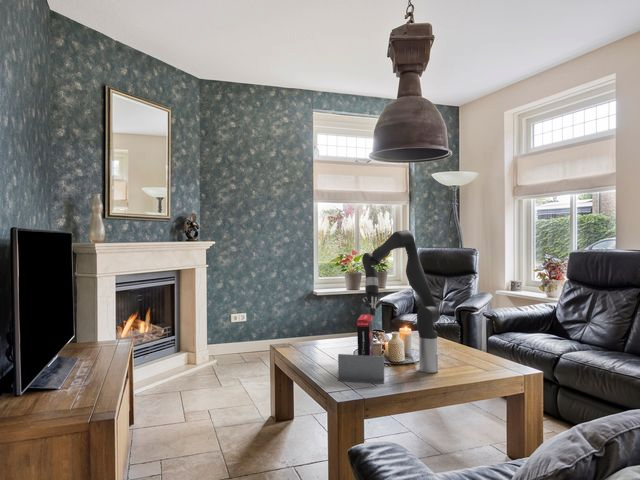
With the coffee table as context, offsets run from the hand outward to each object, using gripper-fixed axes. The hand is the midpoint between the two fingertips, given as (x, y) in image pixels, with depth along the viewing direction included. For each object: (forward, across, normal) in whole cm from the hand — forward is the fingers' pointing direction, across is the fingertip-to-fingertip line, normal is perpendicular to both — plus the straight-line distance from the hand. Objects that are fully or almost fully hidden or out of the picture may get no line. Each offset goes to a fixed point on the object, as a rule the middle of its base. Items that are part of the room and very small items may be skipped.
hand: (372, 315), depth 264 cm
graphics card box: (+31, -10, -6) cm, 33 cm away
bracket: (+36, -19, -16) cm, 44 cm away
